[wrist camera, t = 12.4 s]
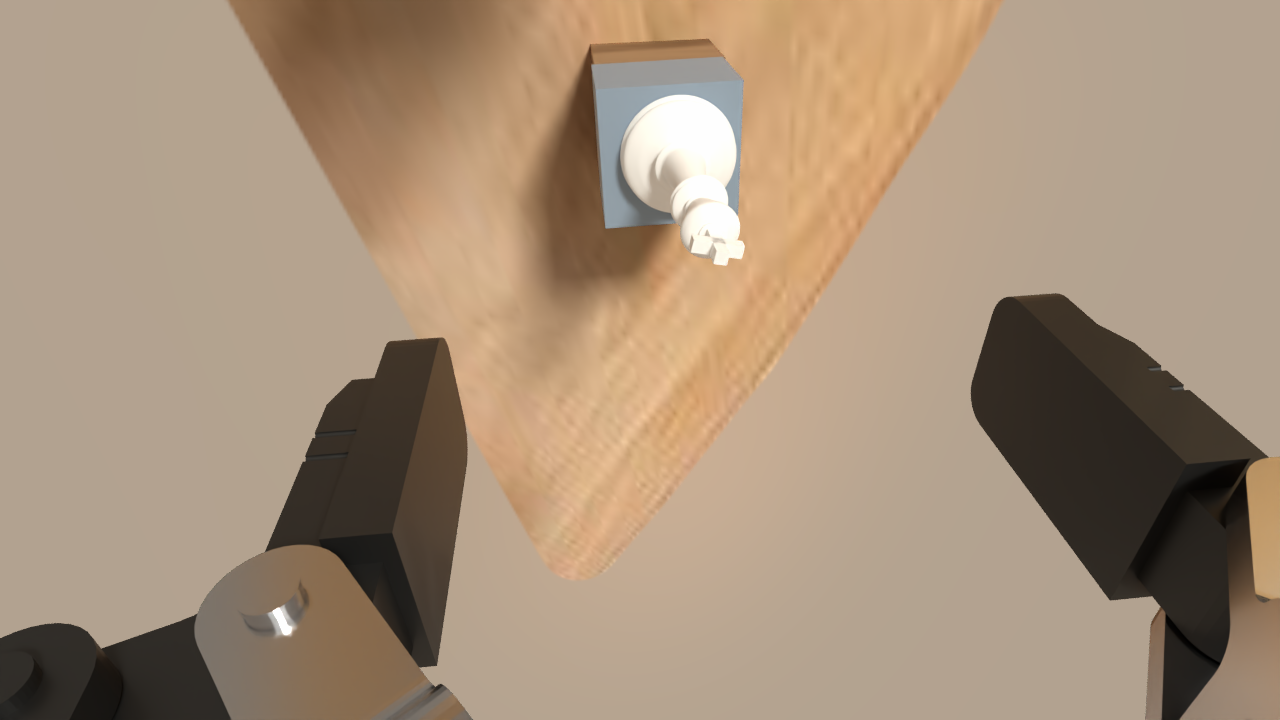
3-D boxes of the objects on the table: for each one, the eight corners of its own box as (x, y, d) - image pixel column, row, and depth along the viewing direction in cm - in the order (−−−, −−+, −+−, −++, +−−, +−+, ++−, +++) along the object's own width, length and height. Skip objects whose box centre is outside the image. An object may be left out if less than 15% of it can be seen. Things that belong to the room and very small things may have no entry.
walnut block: (590, 44, 36) (594, 63, 32) (708, 38, 37) (725, 57, 33) (597, 161, 40) (601, 191, 36) (705, 155, 40) (720, 184, 36)
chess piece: (631, 84, 29) (659, 169, 21) (748, 105, 30) (821, 194, 21) (611, 200, 31) (630, 317, 23) (719, 216, 32) (774, 334, 24)
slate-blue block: (591, 64, 32) (595, 89, 29) (722, 56, 33) (743, 80, 29) (600, 191, 36) (605, 228, 32) (719, 183, 36) (737, 218, 32)
